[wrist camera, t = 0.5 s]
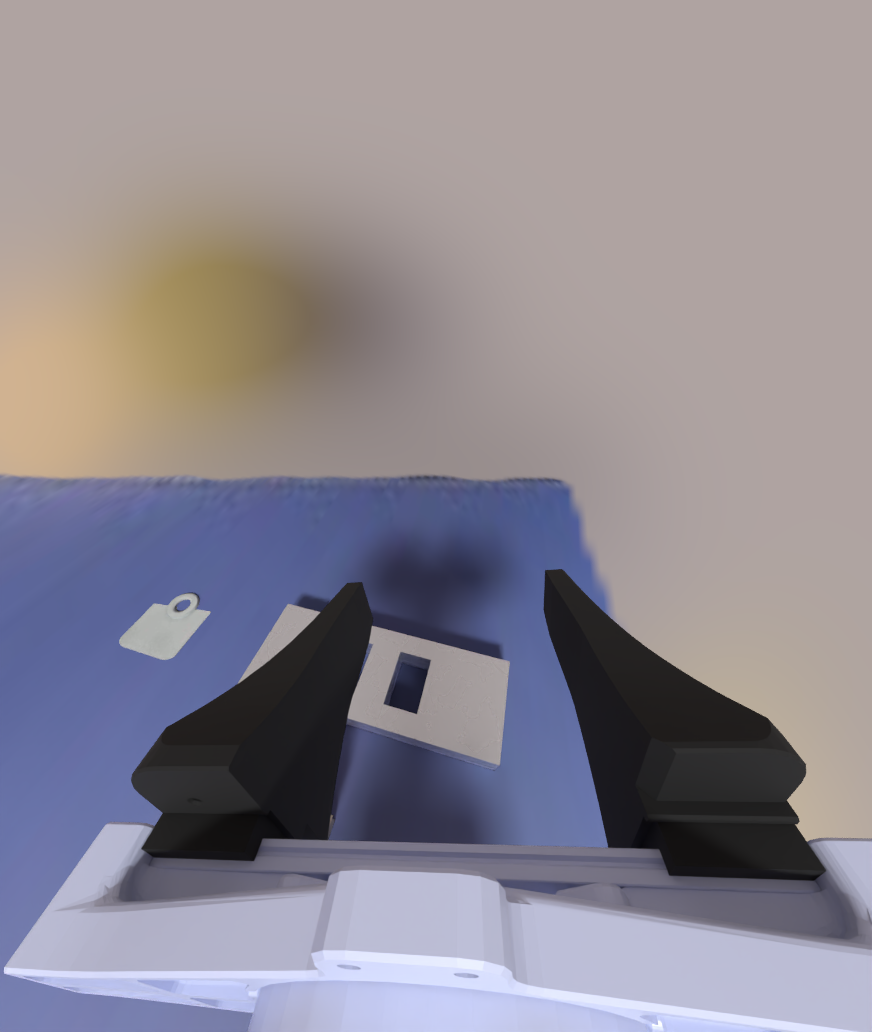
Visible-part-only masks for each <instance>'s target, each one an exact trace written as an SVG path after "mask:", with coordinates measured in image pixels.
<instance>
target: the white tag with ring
mask: <svg viewBox="0 0 872 1032" xmlns="http://www.w3.org/2000/svg"><path fill="white" fill-rule="evenodd" d="M183 600H190V601H191V604H190V606H189V607H188V608H187V609H185V610H184V611H178V610H177V607H176V606H177V604H178V603H180V602H181V601H183ZM199 601H200V599H199V597H198V596H197V595H195V594H193V593H186V594H182V595H180V596H178V597H176V598H175V599H174V600H172V601H171V602H170V604H169V605H161V604H153V605H152V606H151V607H150V608H149V609H148V610H147V611H146V612H145V613H144V615H143V616H142V617H141V618H140V619H139V620H138V621H137V622H136V623H135V624H134V625H133V626H132V627H131V628H130V629H129V630H128V631H127V632H126V633H125V634H124V635H123V636H122V637H121V638H120V641H119V642H120V645H121V646H123V647H125V648H128V649H131V650H134V651H137V652H140V653H143V654H146V655H149V656H152V657H155V658H158V659H161V660H167V659H171V658H173V657H174V656H176V654H177V653H178V652H179V651H180V650H181V648H182V647H183V646H184V645H185V643H186V642H187V641H188V640H189V638H190V637H191V636H192V635H193V634H194V632H195V631H196V630H197V629H198V627H199V626H200V625H201V624H202V623H203V621H204V620H205V619H206V618H207V616H208V615H209V614H210V613H211V612H210V611H203V610H196V608H197V607H198V605H199Z"/></svg>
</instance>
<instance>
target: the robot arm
mask: <svg viewBox="0 0 872 1032" xmlns="http://www.w3.org/2000/svg"><path fill="white" fill-rule="evenodd" d="M544 613H545V618H546V622H547V626H548V630H549V635H550V638H551V640H552V643H553V646H554V649H555V652H556V654H557V657H558V660H559V663H560V665H561V668H562V671H563V673H564V676H565V679H566V682H567V684H568V687H569V690H570V693H571V696H572V699H573V702H574V705H575V709H576V713H577V717H578V721H579V724H580V728H581V732H582V736H583V740H584V744H585V748H586V752H587V756H588V760H589V764H590V768H591V772H592V777H593V781H594V785H595V789H596V794H597V798H598V802H599V807H600V811H601V816H602V820H603V825H604V829H605V834H606V838H607V843H608V848H598V847H560V846H523V845H485V844H448V843H410V842H373V841H336V840H328V832H329V825H330V817H331V810H332V803H333V796H334V790H335V783H336V777H337V771H338V765H339V759H340V754H341V748H342V743H343V737H344V732H345V728H346V723H347V718H348V713H349V708H350V705H351V701H352V697H353V694H354V691H355V687H356V684H357V681H358V678H359V674H360V671H361V668H362V665H363V661H364V658H365V655H366V651H367V648H368V645H369V640H370V635H371V629H372V622H373V617H372V614H371V610H370V607H369V604H368V601H367V597H366V594H365V591H364V588H363V584H362V582H357V583H347V584H346V585H345V586H344V587H343V588H342V589H341V590H340V592H339V593H338V594H337V595H336V596H335V597H334V598H333V599H332V600H331V601H330V603H329V604H328V605H327V606H326V607H325V608H324V609H323V610H322V611H321V612H320V613H319V614H318V615H317V616H316V618H315V619H314V620H313V621H312V622H311V623H310V624H309V625H308V626H307V627H306V628H305V629H304V630H302V631H301V632H300V633H299V634H298V635H297V636H296V637H295V638H294V639H293V640H292V641H291V642H290V643H289V644H288V645H287V646H286V647H284V648H283V649H282V650H281V651H280V652H279V653H277V654H276V655H275V656H274V657H273V658H271V659H270V660H269V661H268V662H267V663H265V664H264V665H263V666H261V667H260V668H259V669H257V670H256V671H255V672H253V673H252V674H251V675H249V676H248V677H247V678H245V679H244V680H243V681H241V682H240V683H238V684H237V685H235V686H234V687H232V688H231V689H230V690H228V691H227V692H225V693H224V694H222V695H220V696H219V697H217V698H216V699H214V700H213V701H211V702H209V703H208V704H206V705H205V706H203V707H201V708H200V709H198V710H196V711H194V712H193V713H191V714H189V715H187V716H186V717H184V718H182V719H180V720H179V721H177V722H175V723H173V724H172V725H170V726H168V727H166V729H165V730H164V731H163V733H162V734H161V735H160V737H159V738H158V739H157V741H156V742H155V744H154V745H153V746H152V748H151V749H150V750H149V752H148V753H147V755H146V756H145V757H144V759H143V760H142V761H141V763H140V764H139V765H138V767H137V768H136V770H135V771H134V772H133V774H132V778H131V781H132V784H133V787H134V789H135V790H136V791H137V792H138V793H139V794H140V795H142V796H143V797H144V798H145V799H147V800H148V801H149V802H150V803H151V804H153V805H154V806H155V807H156V808H158V809H159V810H160V811H161V812H162V813H163V814H162V815H161V817H160V819H159V820H158V822H157V824H156V825H155V826H153V825H150V824H147V823H132V822H110V823H108V824H106V825H105V826H104V828H103V829H102V831H101V832H100V833H99V835H98V836H97V838H96V839H95V841H94V842H93V843H92V845H91V846H90V848H89V849H88V850H87V852H86V853H85V855H84V856H83V857H82V859H81V860H80V862H79V863H78V864H77V866H76V867H75V869H74V870H73V871H72V873H71V874H70V876H69V877H68V879H67V880H66V881H65V883H64V884H63V886H62V887H61V888H60V890H59V891H58V893H57V894H56V895H55V897H54V898H53V900H52V901H51V902H50V904H49V905H48V907H47V908H46V910H45V911H44V912H43V914H42V915H41V917H40V918H39V919H38V921H37V922H36V924H35V925H34V926H33V928H32V929H31V931H30V932H29V933H28V935H27V936H26V938H25V939H24V940H23V942H22V943H21V945H20V946H19V948H18V949H17V950H16V952H15V953H14V955H13V956H12V957H11V959H10V960H9V962H8V963H7V964H6V966H5V967H4V974H8V975H12V976H16V977H20V978H23V979H27V980H31V981H35V982H39V983H43V984H46V985H50V986H54V987H58V988H62V989H66V990H70V991H73V992H77V993H86V994H97V995H107V996H117V997H126V998H135V999H145V1000H153V1001H161V1002H169V1003H178V1004H186V1005H193V1006H201V1007H209V1008H217V1009H225V1010H233V1011H241V1012H249V1013H253V1015H252V1018H251V1021H250V1025H249V1028H248V1031H247V1032H872V839H862V838H818V839H814V840H810V841H808V842H807V841H805V839H804V837H803V836H802V834H801V833H800V831H799V830H798V828H797V827H796V825H795V824H798V823H799V818H798V816H797V814H796V813H795V812H794V810H793V809H792V807H791V806H790V805H789V803H788V802H787V799H788V798H789V797H790V796H791V794H792V793H793V792H794V791H795V790H796V788H797V787H798V786H799V785H800V784H801V783H802V781H803V779H804V777H805V775H806V764H805V763H804V761H803V760H802V759H801V758H800V756H799V755H798V754H797V753H796V751H795V750H794V749H793V748H792V746H791V745H790V744H789V742H788V741H787V740H786V739H785V737H784V736H783V735H782V734H781V733H780V732H779V731H778V729H777V728H776V727H775V726H774V725H773V724H772V723H771V722H770V720H769V719H768V718H766V717H764V716H762V715H760V714H758V713H756V712H755V711H752V710H751V709H749V708H747V707H745V706H743V705H741V704H739V703H737V702H735V701H733V700H731V699H729V698H727V697H725V696H723V695H722V694H720V693H718V692H716V691H715V690H713V689H711V688H709V687H708V686H706V685H704V684H702V683H701V682H699V681H697V680H696V679H694V678H692V677H691V676H689V675H687V674H686V673H684V672H682V671H681V670H679V669H678V668H676V667H675V666H673V665H672V664H670V663H669V662H667V661H666V660H664V659H662V658H661V657H660V656H658V655H657V654H655V653H654V652H652V651H651V650H650V649H648V648H647V647H645V646H644V645H642V644H641V643H640V642H639V641H638V640H636V639H635V638H634V637H632V636H631V635H630V634H629V633H627V632H626V631H625V630H624V629H623V628H621V627H620V626H619V625H618V624H617V623H616V622H615V621H613V620H612V619H611V618H610V617H609V616H608V615H607V614H606V613H604V612H603V611H602V610H601V609H600V608H599V607H598V606H597V605H596V604H595V603H594V602H593V601H592V600H591V599H590V598H589V597H588V596H587V595H586V594H585V593H584V592H583V591H582V590H581V589H580V588H579V587H578V586H577V585H576V583H575V582H574V581H573V580H572V579H571V578H570V577H569V576H568V575H567V574H566V572H565V571H563V570H562V569H558V570H545V590H544ZM553 894H554V895H553Z"/></svg>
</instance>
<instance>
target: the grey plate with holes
mask: <svg viewBox="0 0 872 1032" xmlns="http://www.w3.org/2000/svg"><path fill="white" fill-rule="evenodd" d="M319 613H320V612H318V611H314V610H310V609H306V608H302V607H298V606H295V605H291V604H288V605H287V606H286V608H285V610H284V611H283V613H282V614H281V616H280V617H279V619H278V621H277V622H276V624H275V625H274V627H273V629H272V630H271V632H270V633H269V635H268V636H267V638H266V640H265V641H264V643H263V644H262V646H261V648H260V649H259V651H258V652H257V654H256V656H255V657H254V659H253V660H252V662H251V663H250V665H249V667H248V668H247V670H246V671H245V673H244V675H243V676H242V678H241V679H240V681H239V682H238V683H240V682H241V681H243V680H244V679H245V678H247V677H248V676H249V675H251V674H252V673H253V672H255V671H256V670H257V669H259V668H260V667H261V666H263V665H264V664H265V663H267V662H268V661H269V660H270V659H271V658H273V657H274V656H275V655H276V654H277V653H279V652H280V651H281V650H282V649H283V648H284V647H286V646H287V645H288V644H289V643H290V642H291V641H292V640H293V639H294V638H295V637H296V636H297V635H298V634H299V633H300V632H301V631H302V630H304V629H305V628H306V627H307V626H308V625H309V624H310V623H311V622H312V621H313V620H314V619H315V618H316V616H317V615H318V614H319ZM366 653H367V654H369V656H368V659H367V661H366V664H365V666H364V669H363V671H362V674H361V676H360V679H359V682H358V684H357V687H356V689H355V692H354V694H353V697H352V701H351V705H350V708H349V713H348V718H347V723H346V724H347V725H350V726H353V727H356V728H360V729H363V730H366V731H369V732H372V733H375V734H379V735H382V736H385V737H388V738H391V739H395V740H398V741H401V742H404V743H407V744H410V745H414V746H417V747H420V748H423V749H426V750H430V751H433V752H436V753H439V754H442V755H445V756H449V757H452V758H455V759H458V760H461V761H465V762H468V763H471V764H474V765H477V766H481V767H484V768H487V769H490V770H493V771H494V770H495V769H496V768H498V767H499V766H500V757H501V747H502V736H503V726H504V715H505V705H506V694H507V684H508V673H509V663H510V662H509V661H505V660H502V659H498V658H494V657H490V656H486V655H482V654H479V653H475V652H471V651H467V650H463V649H459V648H456V647H452V646H448V645H444V644H440V643H436V642H433V641H429V640H425V639H421V638H417V637H413V636H410V635H406V634H402V633H398V632H394V631H390V630H387V629H383V628H379V627H375V626H372V629H371V635H370V640H369V645H368V648H367V651H366ZM402 663H404V664H407V665H411V666H415V667H418V668H422V669H425V670H428V674H427V678H426V682H425V685H424V689H423V693H422V697H421V701H420V705H419V709H418V712H417V714H415V713H411V712H408V711H404V710H401V709H398V708H394V707H391V706H389V703H390V699H391V696H392V693H393V690H394V687H395V684H396V681H397V677H398V674H399V671H400V668H401V665H402Z"/></svg>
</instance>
